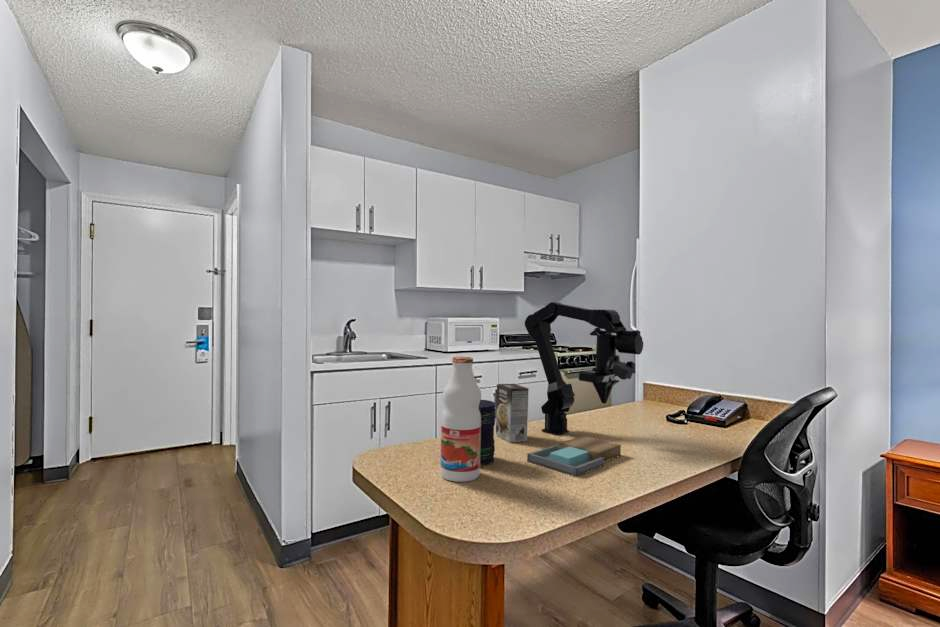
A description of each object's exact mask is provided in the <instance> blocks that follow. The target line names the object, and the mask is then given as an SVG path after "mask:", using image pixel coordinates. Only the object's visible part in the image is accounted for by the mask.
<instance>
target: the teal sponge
mask: <svg viewBox="0 0 940 627" xmlns="http://www.w3.org/2000/svg"><path fill="white" fill-rule="evenodd" d="M588 459H589V452H588V451H585V450H581V449H577V448H573V447H567V448H564V449H561V448H560V449H558V450H557V451H554V452H551V453H550V460H554V461H557V462H560V463H564V464H567V465H570V466H572V465H575V464H577V463H580V462H583V461H585V460H588Z"/></svg>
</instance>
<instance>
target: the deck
mask: <svg viewBox="0 0 940 627" xmlns="http://www.w3.org/2000/svg"><path fill="white" fill-rule="evenodd" d="M567 447H573V448H577V449H581V450H585V451H588V452H589V459H590V460H595V459H598V458H601V457H602V458H604V461H606V462H608V461H607V460H609V459H611V460H613V459H612V458H614V459H615V457H616V458H618V457H617V456H619V457H621V454H622V453H621V449H622V448H621V447H622V446H621V444H618V443H615V442H609V441H606V440H603V439H602V440H601V439H597V438H593V437H589V436H584V435H581V436H578V437H575V438H571V439H568V440H564V441H561V442H560V450H561V449H564V448H567ZM609 461H610V460H609Z"/></svg>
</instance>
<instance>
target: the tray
mask: <svg viewBox="0 0 940 627" xmlns="http://www.w3.org/2000/svg"><path fill="white" fill-rule="evenodd" d="M557 450H559V445H558V444H555V445H551V446H549V447H545V448H542V449H538V450H535V451H532V452H528V453H526V454H527V455H526V459H527V460H526V461H527V462H529V463H531V464H533V465H537V466H541V467H543V466H544V468H547V469H551V470H553V471H557V472H559V473H563V474H565V473H566V475H568V474H569V476H572V475H573V476H572V477H575V476H577V477H580V476H582V475H584V474H583V473H585V474H587V473H589V472H588V471H590V472H592V471H594V470H593V469H595V468H597V469H599V468H598V467H600V466H602V467H604V466H605V462H604V458H602V457H601V458H598V459H595V460H590V459H588V460H585V461H583V462H580V463H577V464H575V465H572V466H570V465H567V464H564V463H560V462H557V461H554V460H550V453H551V452H554V451H557ZM603 465H604V466H603ZM600 468H601V467H600ZM591 470H592V471H591ZM595 470H596V469H595ZM586 472H587V473H586ZM581 474H582V475H581ZM579 475H580V476H579Z"/></svg>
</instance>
